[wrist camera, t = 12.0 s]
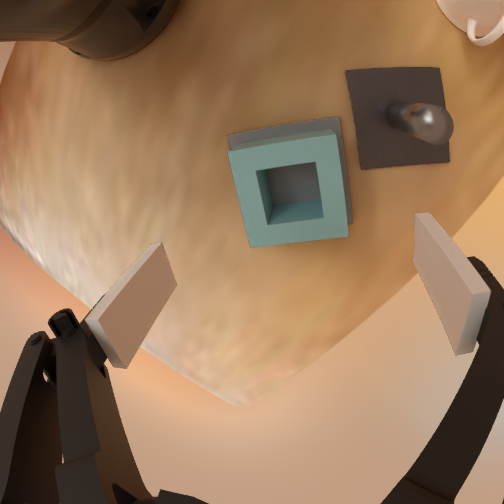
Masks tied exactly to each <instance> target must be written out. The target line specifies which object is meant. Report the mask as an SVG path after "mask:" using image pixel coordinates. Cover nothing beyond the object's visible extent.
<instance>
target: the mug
mask: <svg viewBox="0 0 504 504" xmlns="http://www.w3.org/2000/svg"><path fill="white" fill-rule="evenodd" d="M436 2H437V4H438V6H439V7H440V9H441V11H442V12H443V13H444V15H445V16H446V17H447V18H448V19H449V20H450V21H451V22H452V23H453V24H454V25H455V26H456V27H458V28H459V29H461V30H462V31H464V32H466V33H467V36H468V38H469V40H470V41H471V42H472V43H474V44H475V45H478V46H486V45H489V44H491V43H493V42H494V41H496V40H497V39H498V38H499V37H501V36H502V35H503V33H504V0H436ZM475 36H479V37H483V36H485V37H483V38H480V39H476V38H475Z"/></svg>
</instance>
